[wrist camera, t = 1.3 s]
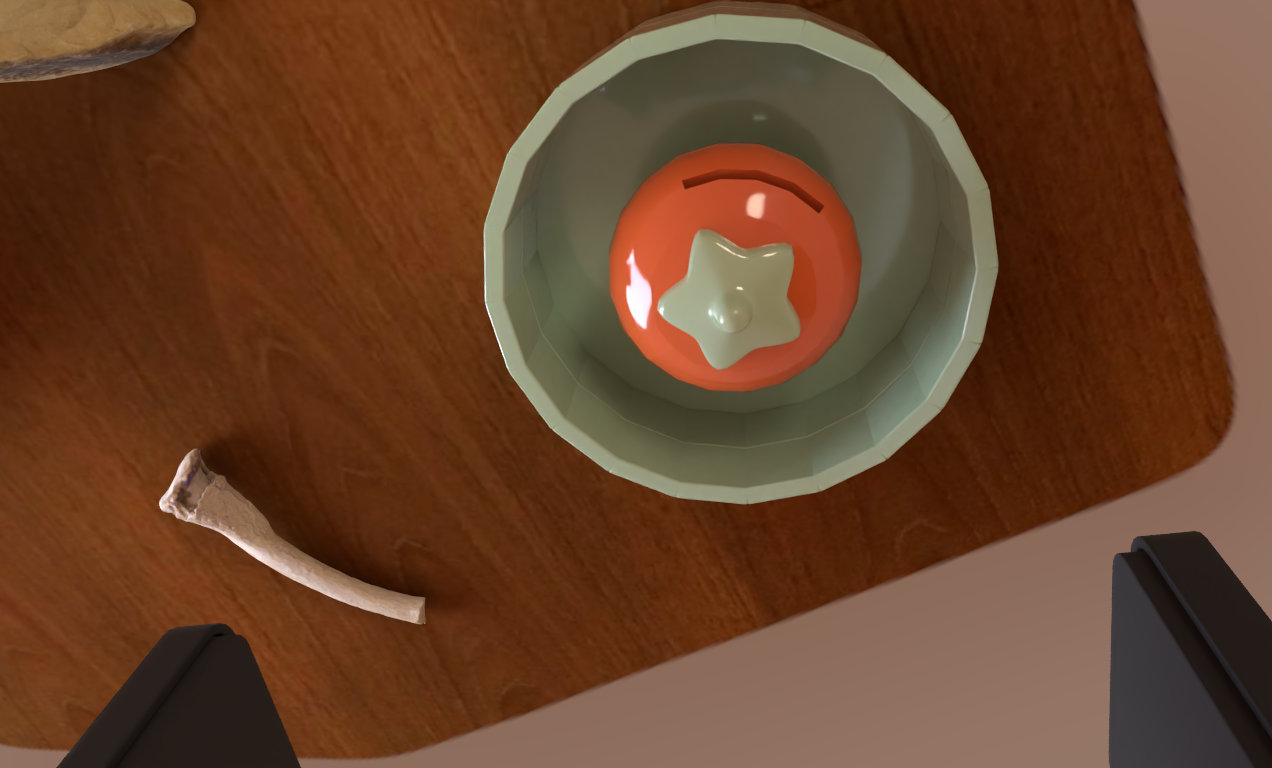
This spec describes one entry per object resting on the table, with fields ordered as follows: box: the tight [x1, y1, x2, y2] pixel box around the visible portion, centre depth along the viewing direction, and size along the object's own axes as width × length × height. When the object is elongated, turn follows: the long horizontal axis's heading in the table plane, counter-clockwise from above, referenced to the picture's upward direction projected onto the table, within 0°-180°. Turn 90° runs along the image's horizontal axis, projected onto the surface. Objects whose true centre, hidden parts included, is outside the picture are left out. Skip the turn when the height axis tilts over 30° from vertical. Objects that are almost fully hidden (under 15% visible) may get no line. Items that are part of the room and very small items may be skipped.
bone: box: [159, 448, 426, 625], centre depth 38 cm, size 3×11×2 cm, turn 52°
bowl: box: [484, 0, 999, 504], centre depth 30 cm, size 14×14×6 cm
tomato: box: [609, 142, 862, 392], centre depth 28 cm, size 7×7×8 cm
